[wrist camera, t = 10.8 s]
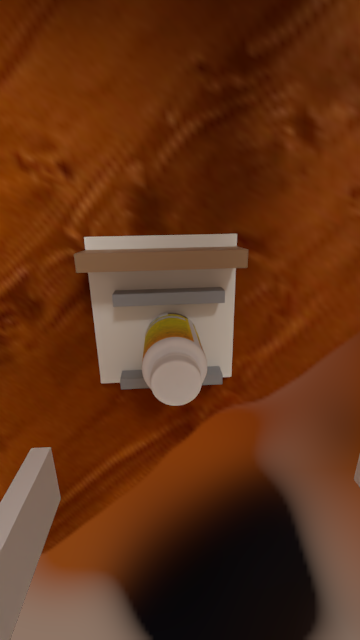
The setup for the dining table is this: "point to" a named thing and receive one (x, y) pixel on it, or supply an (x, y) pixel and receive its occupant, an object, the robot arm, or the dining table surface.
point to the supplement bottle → (173, 359)
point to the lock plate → (160, 296)
